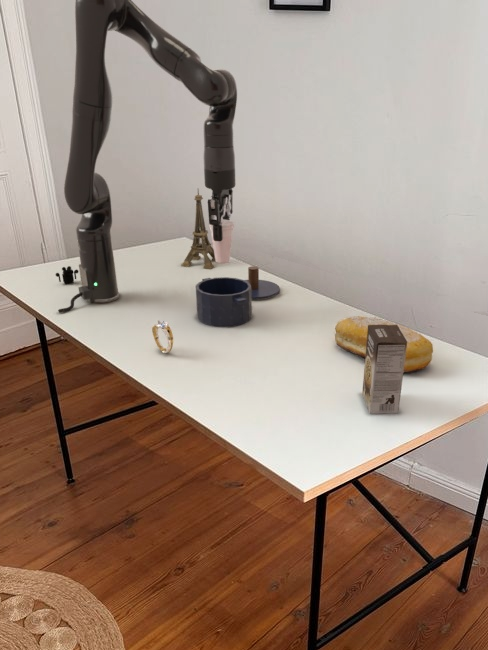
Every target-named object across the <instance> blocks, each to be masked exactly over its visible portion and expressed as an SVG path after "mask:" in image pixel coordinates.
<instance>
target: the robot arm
mask: <svg viewBox="0 0 488 650" xmlns="http://www.w3.org/2000/svg"><path fill="white" fill-rule="evenodd" d="M74 8H75V9H74V21H75V23H74V24H75V61H74V63H75V65H74V82H73V83H74V85H73V93H72V107H71V110H72V111H71V129H70V141H69V152H68V153H69V154H68V161H67V166H66V172H65V179H64V184H63V194H64V200H65V202H66V204H67V207H68V208H69V210H70V211H72V212H73V213H75V214H77V215H81V217H80V219H79V221H78V223H77V225H76V227H75V235H76V241H77V248H78V255H79V261H80V263H79V264H78V271H79V276H80V282H81V286H78V293H77V294H76V295H74V296H73V297H72V298H71V300H70V305H69V306H68V307H64V308H58V309H57V311H58V313H65V312H69V311H71V310H73V308H74V306H75V301H76V300H77V299H78V298H80V297H81V298H82V299H83V300H86V301H87V302H88V303H89V304H105V303H111V302H114V301H116V300H118V299H119V298H120V293H119V287H118V279H117V272H116V263H115V256H114V248H113V239H112V227H113V211H112V210H113V209H112V199H111V192H110V188H109V185H108V183H107V180H106V179H105V177H103V176H102V175H101V174H100V173H98V172H96V165H97V160H98V158H99V155H100V152H101V150H102V148H103V146H104V143H105V141H106V138H107V136H108V133H109V130H110V127H111V123H112V114H113V113H112V112H113V102H114V101H113V99H114V97H113V90H112V86H111V81H110V78H109V74H108V71H107V66H106V48H107V47H106V46H107V44H106V43H107V36H108V32H113V31H114V32H117V33H119V34H120V35H123V36H125V37H127V38H129V39H130V40H132V41H133V42H135V43H136V44H138V45H139V46H140V47H141V48H142V50H144V52H145V53H146V54H147V55H148V57H149V58H150V59H151V61H153V62H154V63H155V65H157V66H158V67H159V68H160V69H161V70H163V71H164V72H166V73H167V74H168V75H169V76H170V77H172V78H174V80H177V81H178V82H180V83H181V84H182V85H183V86H184V87H185V89H186V90H187V91H188V92H190V94H191V95H192V96H193V97H195V98H196V99H197V100H198V101H199V102H200V103H202V104H204V105H206V106H208V107H209V111H208V116H207V117H206V118H205V120H204V121H203V175H204V186H205V188H207V189H209V190H211V195H210V199H209V198H208V199H207V213H208V225H209V224H210V225H213V240H214V241H222V239H223V238H222V220H223V219H224V220H231V217H232V214H233V212H234V211H233V210H234V209H233V206H234V205H233V199H234V198H233V193H234V190H233V189H234V188H235V187H236V155H235V147H234V146H235V145H234V144H235V141H234V122H235V117H236V110H237V104H238V103H237V102H238V86H237V82H236V79H235V77H234V76H233V74H232V73H231V72H230V71H229V70H227V69H223V68H222V69H214V70H213V69H211V68H209V67H208V66H207V65H205V64H204V63H203V62H202V59H201V56H200V55H199V54H198V53H197V52H196V51H195V50H193V49H192V48H191V47H189V46H188V45H187V44H185V43H183V42H182V41H181V40H180V39H178V38H177V37H176V36H174V35H172V34H171V33H170V32H168V31H167V30H165V29H164V28H163V27H161V25H159V24H158V23H156V22H155V21H154V20H153V19H152V18H150V17H149V15H147V14H146V13H145V12H144V11H143V10H142V9H141V8H140V7H138V6H137V4H136V3H135V2H134V1H133V0H75V5H74Z"/></svg>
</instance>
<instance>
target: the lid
mask: <svg viewBox="0 0 488 650" xmlns="http://www.w3.org/2000/svg"><path fill="white" fill-rule="evenodd" d="M247 270H248V271H247V273H248V277H247V278H248V279H244V280H245V281H247V282H249V283H250V285H251V292H252V300H261V299H262V300H263V299H269V298H272V297H275V296H277V295H278V294H280V291H281V287H280V285H279V284H277V283H276V282H273V281H270V280H264V279H260V278H259V277H260V276H259V266H255V265H251V266H248V268H247Z"/></svg>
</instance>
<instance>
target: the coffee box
mask: <svg viewBox="0 0 488 650" xmlns="http://www.w3.org/2000/svg"><path fill="white" fill-rule="evenodd" d="M406 349H407V341H406V339H405V337H404V336H403V334H402V332H401V331H400V329H399V327H398V325H368V332H367V344H366V356H365V358H364V368H363V381H362V393H361V395H362V397H363V400H364V402H365V405H366V407H367V410H368V413H369V414H371V415H373V414H375V415H376V414H377V415H378V414H398V413H399V409H400V400H401V393H402V387H403V386H402V385H403V380H404V373H405V372H404V365H405V357H406Z"/></svg>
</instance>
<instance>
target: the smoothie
mask: <svg viewBox="0 0 488 650" xmlns="http://www.w3.org/2000/svg"><path fill="white" fill-rule="evenodd" d="M208 227H209V228H210V229H209V230H210V234H211V242H212V248H213V249H214V255H215V261H216V263H217V264H227V263H230V261H231V252H232V243H233V241H232V240H233V231H234V228H235V222H234V220H231V219H230V220H224V219H223V220H222V238H223V239H222V241H214V240H213V225H210V224H209V223H208ZM215 261H214V262H215Z"/></svg>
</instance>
